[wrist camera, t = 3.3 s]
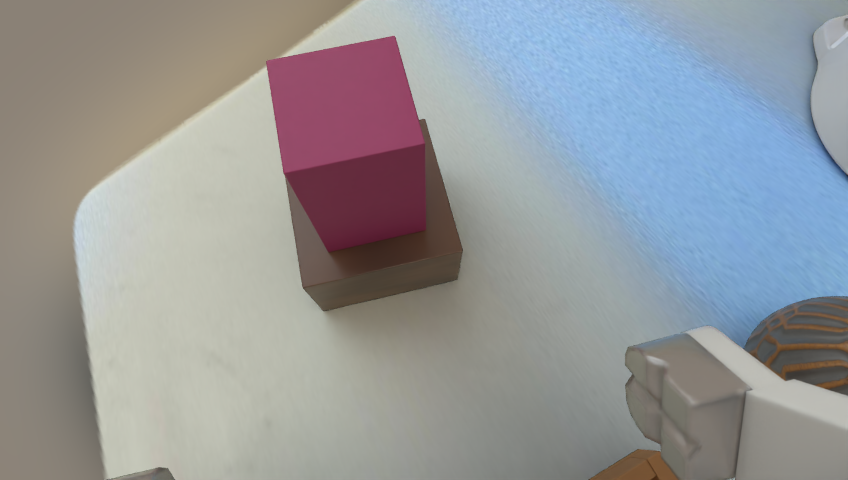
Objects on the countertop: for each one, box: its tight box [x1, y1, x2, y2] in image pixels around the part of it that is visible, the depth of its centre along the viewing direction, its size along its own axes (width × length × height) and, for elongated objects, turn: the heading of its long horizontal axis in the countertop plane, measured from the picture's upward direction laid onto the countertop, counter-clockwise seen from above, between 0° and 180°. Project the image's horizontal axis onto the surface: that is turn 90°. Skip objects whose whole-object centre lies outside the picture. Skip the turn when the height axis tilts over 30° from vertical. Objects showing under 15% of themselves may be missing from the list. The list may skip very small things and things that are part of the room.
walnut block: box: [285, 119, 463, 311], centre depth 28 cm, size 8×8×5 cm
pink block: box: [266, 36, 426, 252], centre depth 21 cm, size 5×5×8 cm
